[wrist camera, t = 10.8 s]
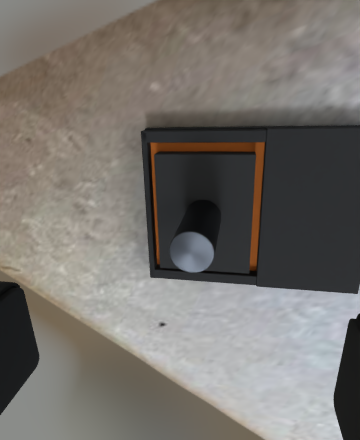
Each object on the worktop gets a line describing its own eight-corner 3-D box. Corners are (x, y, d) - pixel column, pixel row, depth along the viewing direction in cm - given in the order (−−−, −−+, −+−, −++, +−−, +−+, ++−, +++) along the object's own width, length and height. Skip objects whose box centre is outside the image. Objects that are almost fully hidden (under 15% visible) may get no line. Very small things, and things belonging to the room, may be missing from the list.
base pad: (147, 127, 24) (140, 129, 23) (379, 124, 21) (391, 127, 20) (155, 268, 28) (150, 278, 27) (350, 281, 26) (358, 294, 24)
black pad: (158, 151, 24) (124, 172, 17) (255, 151, 22) (260, 174, 16) (163, 259, 27) (136, 314, 20) (248, 265, 26) (251, 325, 19)
